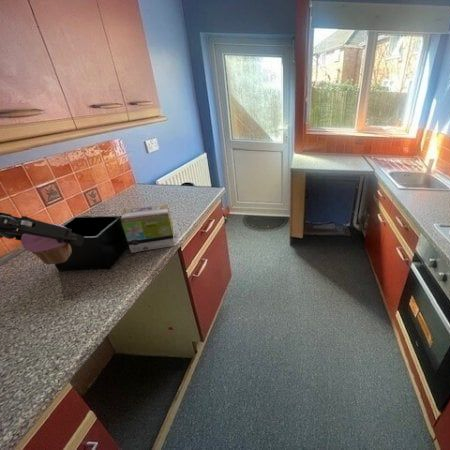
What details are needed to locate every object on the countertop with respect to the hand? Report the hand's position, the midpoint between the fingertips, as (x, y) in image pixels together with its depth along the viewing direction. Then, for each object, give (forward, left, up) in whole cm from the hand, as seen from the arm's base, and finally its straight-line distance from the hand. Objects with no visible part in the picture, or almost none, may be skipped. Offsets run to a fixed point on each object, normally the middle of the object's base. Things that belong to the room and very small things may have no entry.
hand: (63, 240), depth 65 cm
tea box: (+4, +28, -19) cm, 34 cm away
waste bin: (-11, +18, -19) cm, 28 cm away
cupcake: (0, -3, -4) cm, 5 cm away
